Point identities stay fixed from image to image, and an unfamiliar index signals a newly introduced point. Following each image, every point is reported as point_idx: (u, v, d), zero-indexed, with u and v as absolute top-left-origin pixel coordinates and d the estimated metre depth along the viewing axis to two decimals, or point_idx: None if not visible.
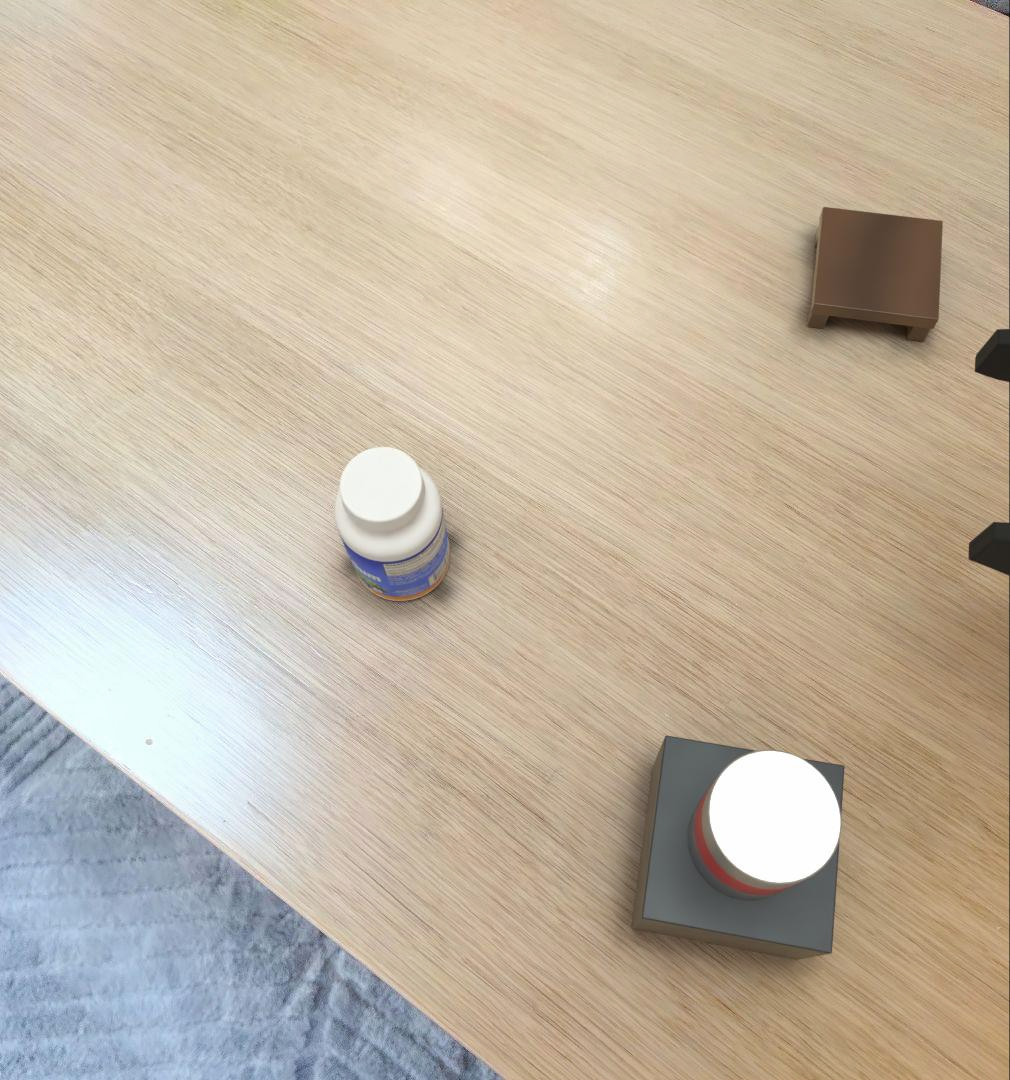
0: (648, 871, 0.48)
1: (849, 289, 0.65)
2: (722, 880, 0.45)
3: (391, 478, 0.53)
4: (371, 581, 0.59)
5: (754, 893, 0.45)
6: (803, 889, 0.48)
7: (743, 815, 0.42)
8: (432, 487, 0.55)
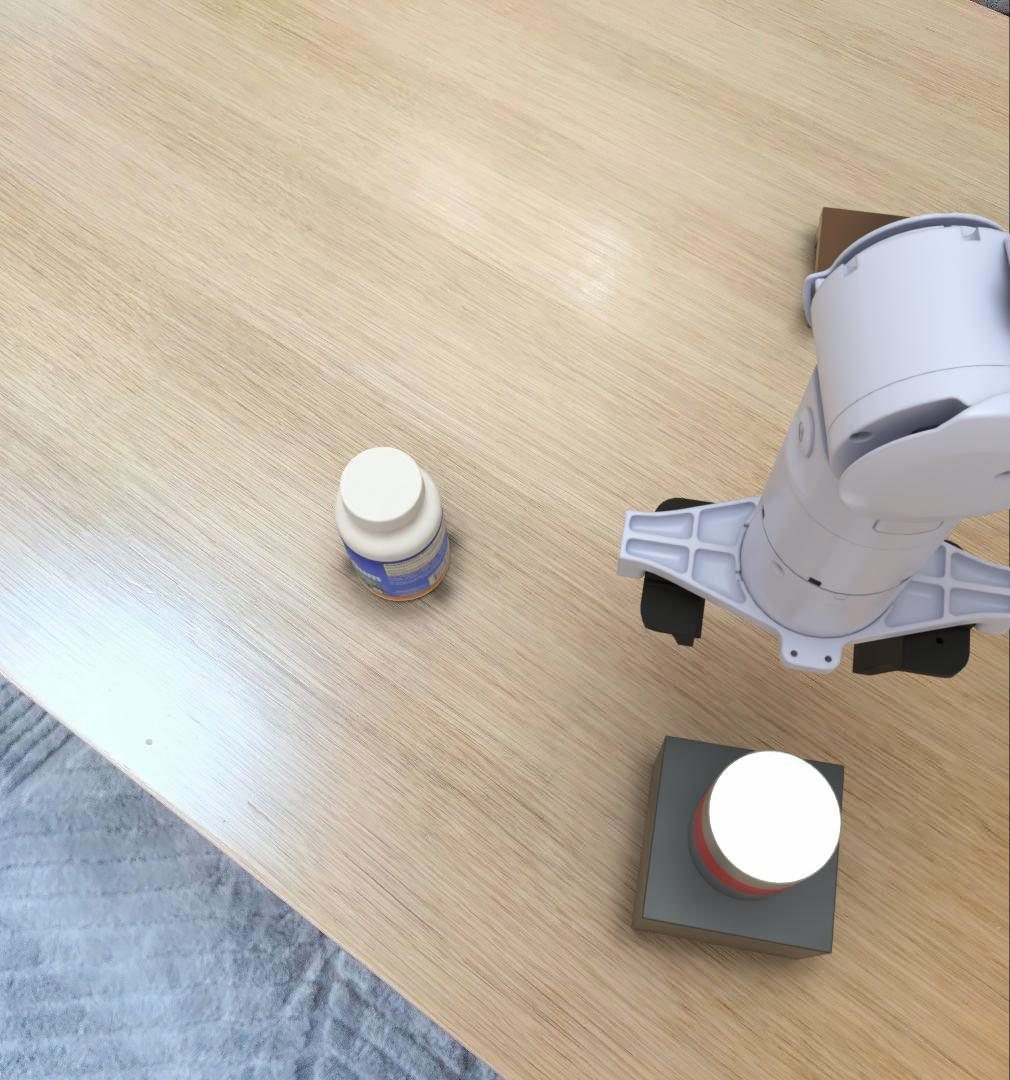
0: (648, 871, 0.48)
1: None
2: (722, 880, 0.45)
3: (391, 477, 0.53)
4: (371, 581, 0.59)
5: (754, 893, 0.45)
6: (803, 889, 0.48)
7: (743, 815, 0.42)
8: (432, 487, 0.55)
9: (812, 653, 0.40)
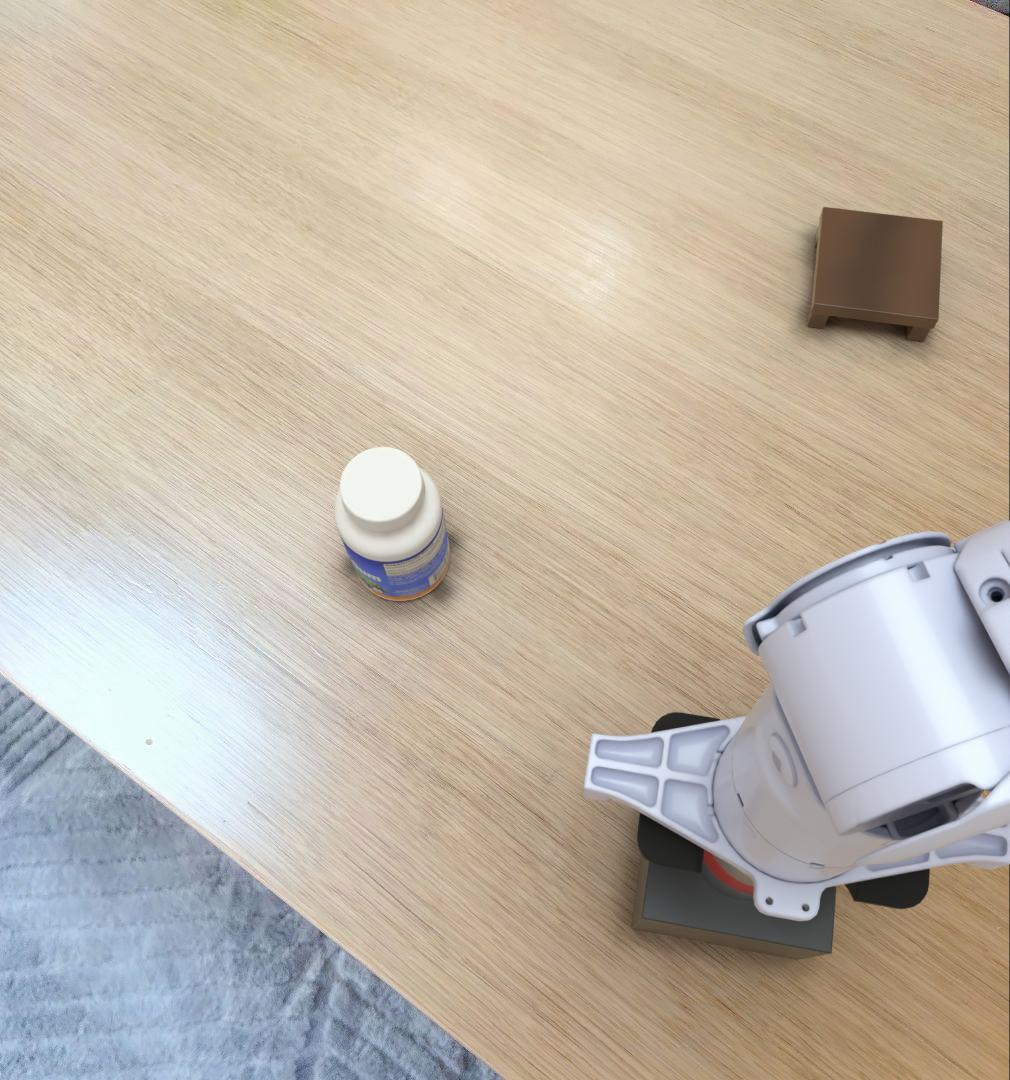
0: (648, 871, 0.48)
1: (849, 289, 0.65)
2: (723, 880, 0.45)
3: (391, 478, 0.53)
4: (371, 581, 0.59)
5: None
6: None
7: None
8: (432, 487, 0.55)
9: (788, 901, 0.37)
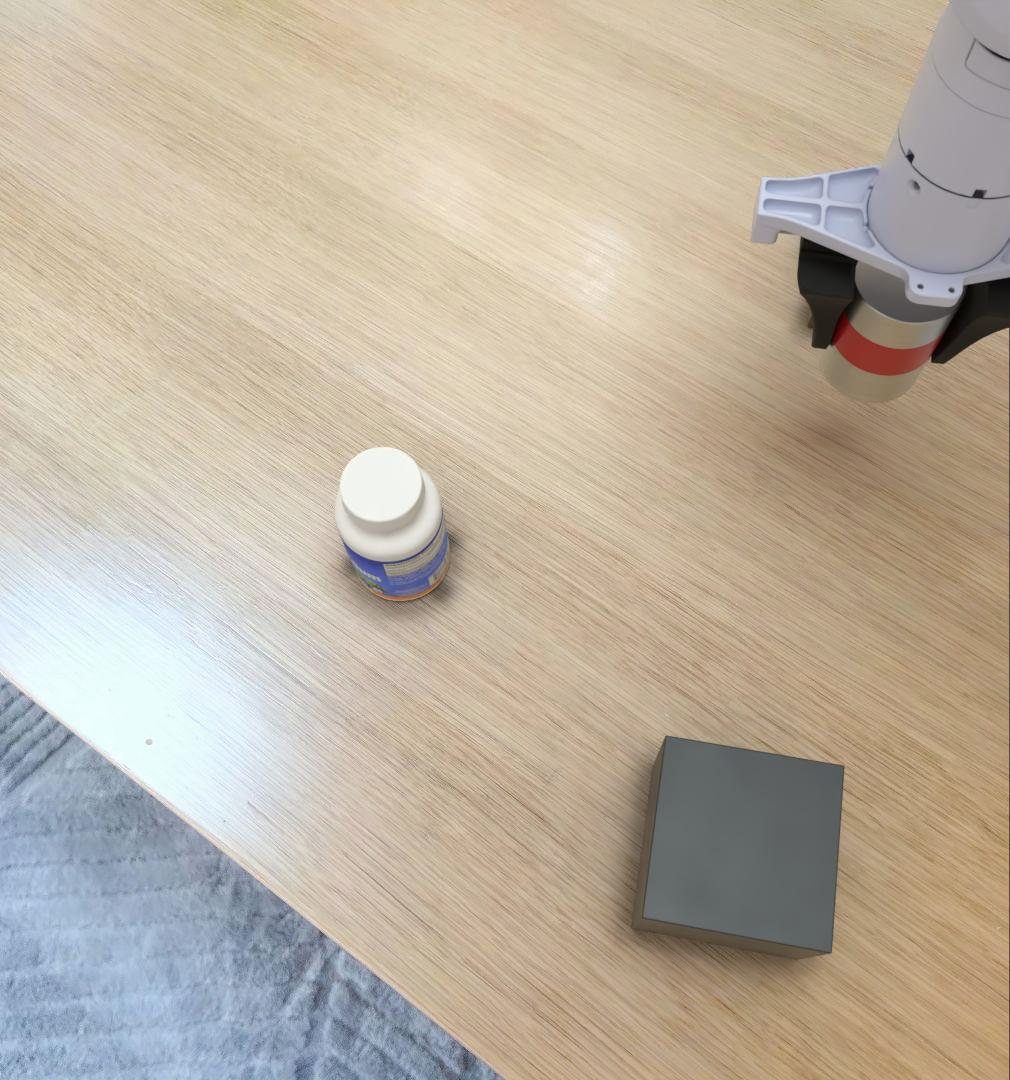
0: (648, 871, 0.48)
1: None
2: (857, 362, 0.52)
3: (391, 478, 0.53)
4: (371, 581, 0.59)
5: (886, 369, 0.52)
6: (803, 889, 0.48)
7: (883, 276, 0.49)
8: (432, 487, 0.55)
9: (937, 285, 0.44)
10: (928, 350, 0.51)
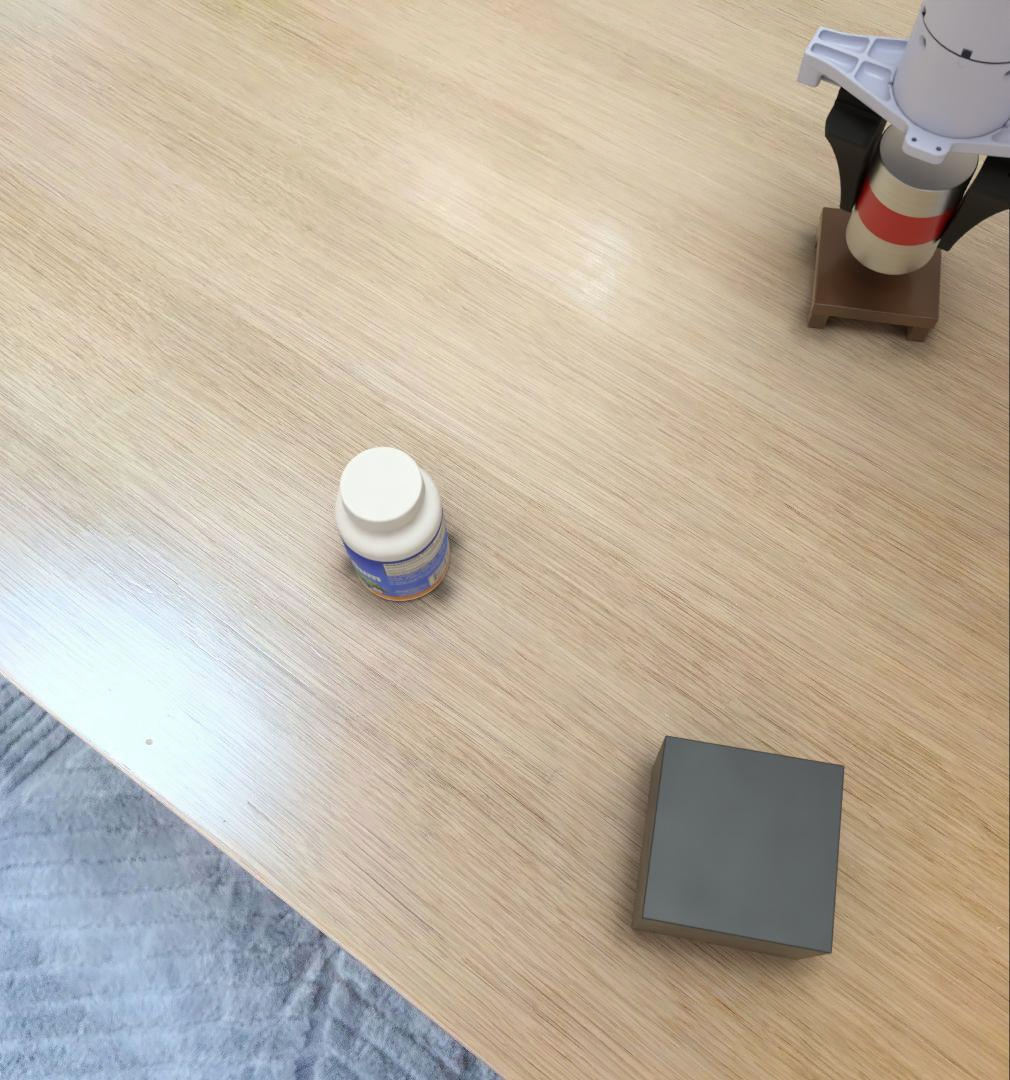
0: (648, 871, 0.48)
1: (849, 289, 0.65)
2: (869, 225, 0.60)
3: (391, 478, 0.53)
4: (371, 581, 0.59)
5: (890, 236, 0.60)
6: (803, 889, 0.48)
7: None
8: (432, 487, 0.55)
9: (928, 142, 0.52)
10: (930, 226, 0.58)
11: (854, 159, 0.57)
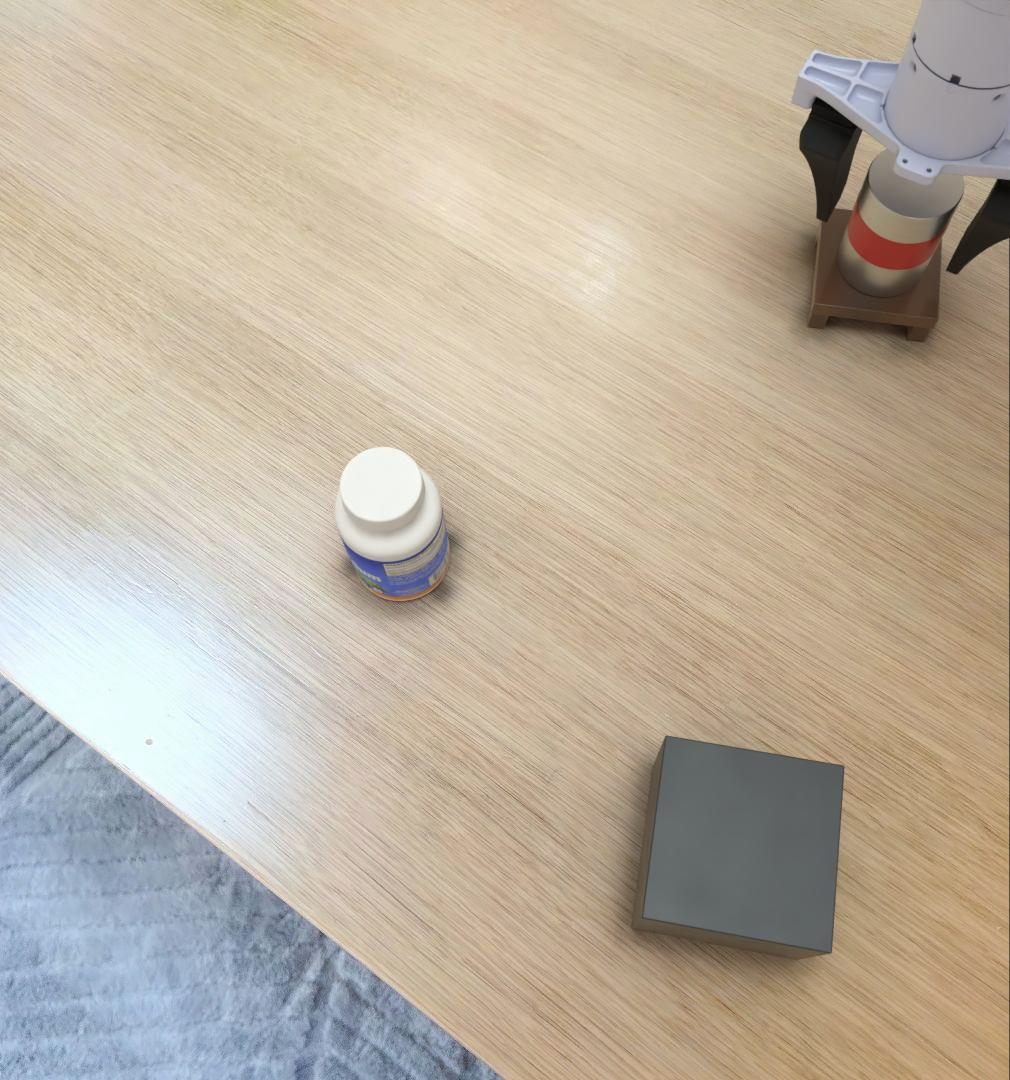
0: (648, 871, 0.48)
1: (849, 289, 0.65)
2: (859, 249, 0.62)
3: (391, 478, 0.53)
4: (371, 581, 0.59)
5: (880, 260, 0.61)
6: (803, 889, 0.48)
7: (893, 174, 0.59)
8: (432, 487, 0.55)
9: (918, 164, 0.53)
10: (917, 251, 0.60)
11: (828, 171, 0.59)
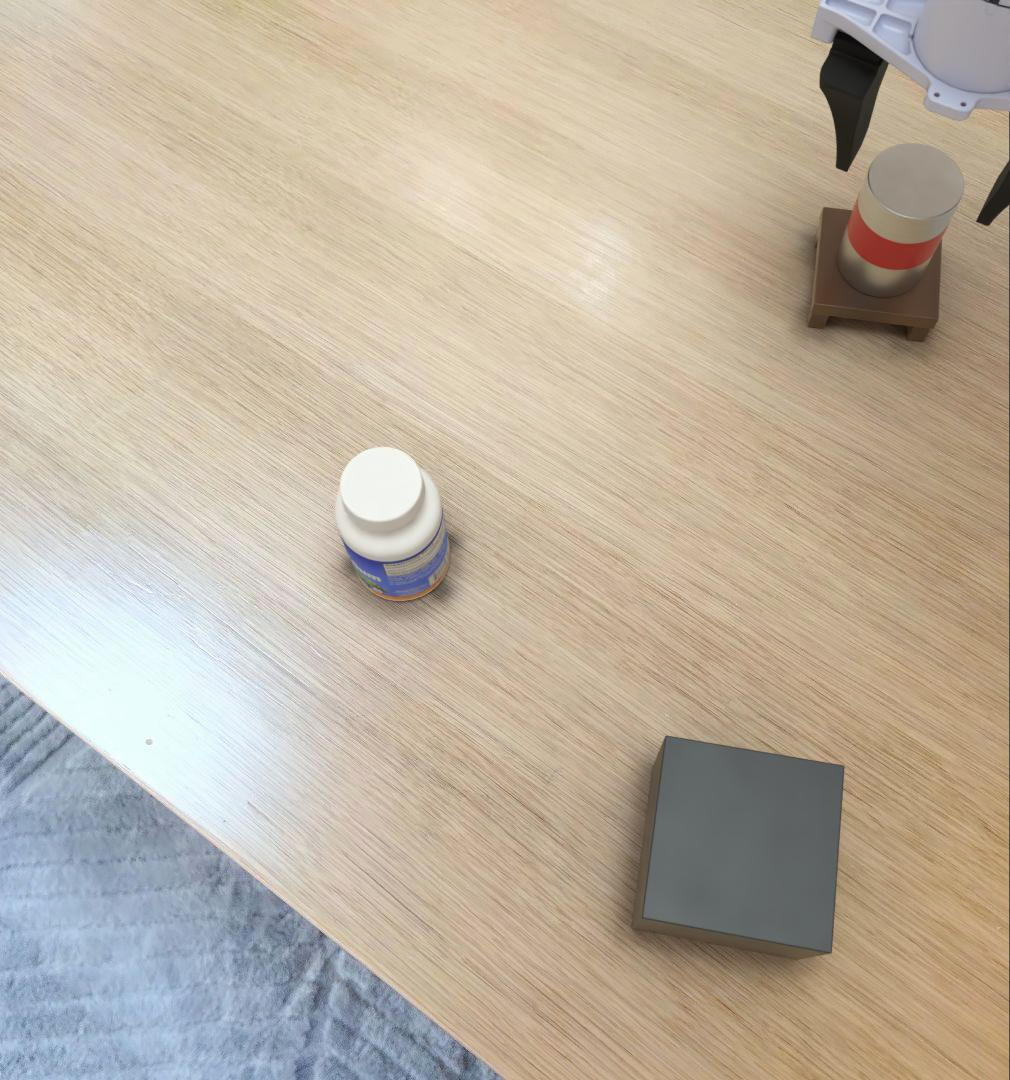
0: (648, 871, 0.48)
1: (849, 289, 0.65)
2: (859, 249, 0.62)
3: (391, 477, 0.53)
4: (371, 581, 0.59)
5: (880, 260, 0.61)
6: (803, 889, 0.48)
7: (893, 174, 0.59)
8: (432, 487, 0.55)
9: (951, 98, 0.49)
10: (917, 251, 0.60)
11: (850, 112, 0.54)
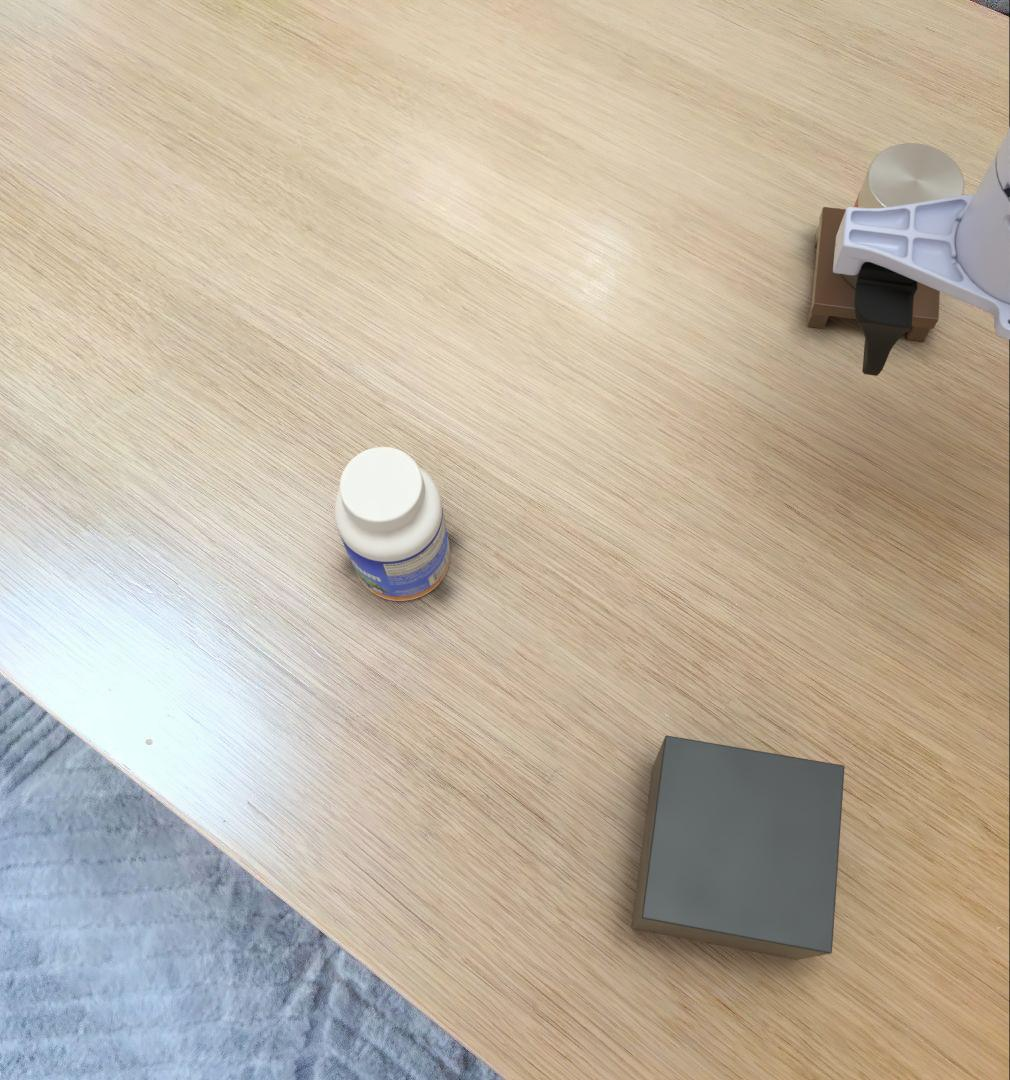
0: (648, 871, 0.48)
1: (849, 289, 0.65)
2: None
3: (391, 478, 0.53)
4: (371, 581, 0.59)
5: None
6: (803, 889, 0.48)
7: (893, 174, 0.59)
8: (432, 487, 0.55)
9: None
10: None
11: (890, 335, 0.48)
